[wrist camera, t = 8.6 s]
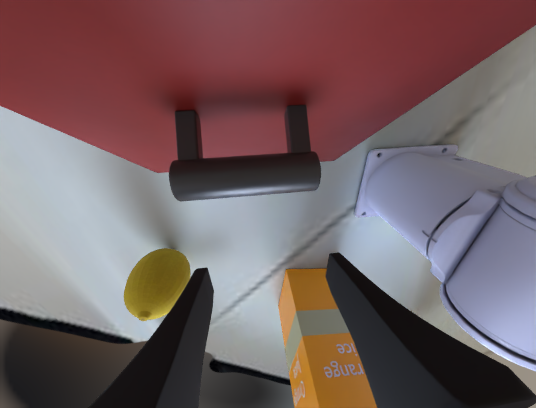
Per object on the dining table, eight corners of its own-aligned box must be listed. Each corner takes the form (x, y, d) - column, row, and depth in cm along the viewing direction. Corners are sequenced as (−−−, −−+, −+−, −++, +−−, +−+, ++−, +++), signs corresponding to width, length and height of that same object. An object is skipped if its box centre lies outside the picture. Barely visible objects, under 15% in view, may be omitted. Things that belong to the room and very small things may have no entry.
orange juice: (337, 267, 28) (488, 552, 11) (322, 304, 32) (413, 548, 15) (284, 268, 27) (358, 588, 9) (276, 306, 31) (318, 573, 14)
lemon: (139, 237, 21) (90, 305, 15) (189, 231, 22) (164, 294, 15) (158, 270, 24) (124, 341, 17) (202, 264, 25) (186, 331, 18)
